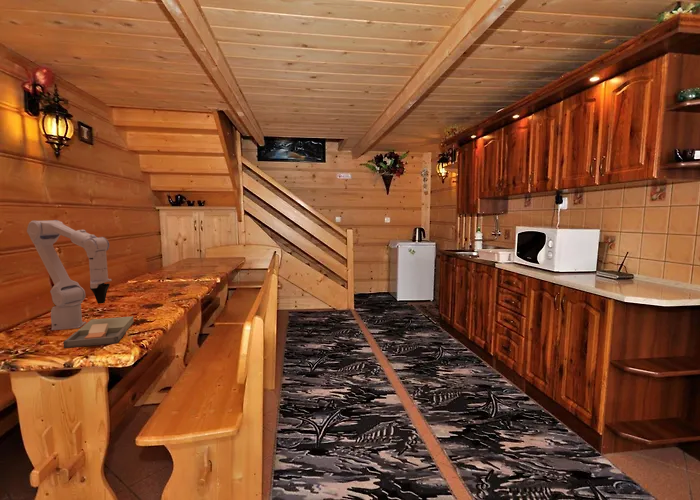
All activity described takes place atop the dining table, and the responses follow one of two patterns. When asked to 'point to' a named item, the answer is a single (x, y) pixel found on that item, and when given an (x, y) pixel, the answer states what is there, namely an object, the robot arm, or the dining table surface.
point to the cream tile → (99, 328)
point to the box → (93, 339)
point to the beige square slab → (113, 324)
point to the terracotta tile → (96, 335)
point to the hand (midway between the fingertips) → (101, 303)
